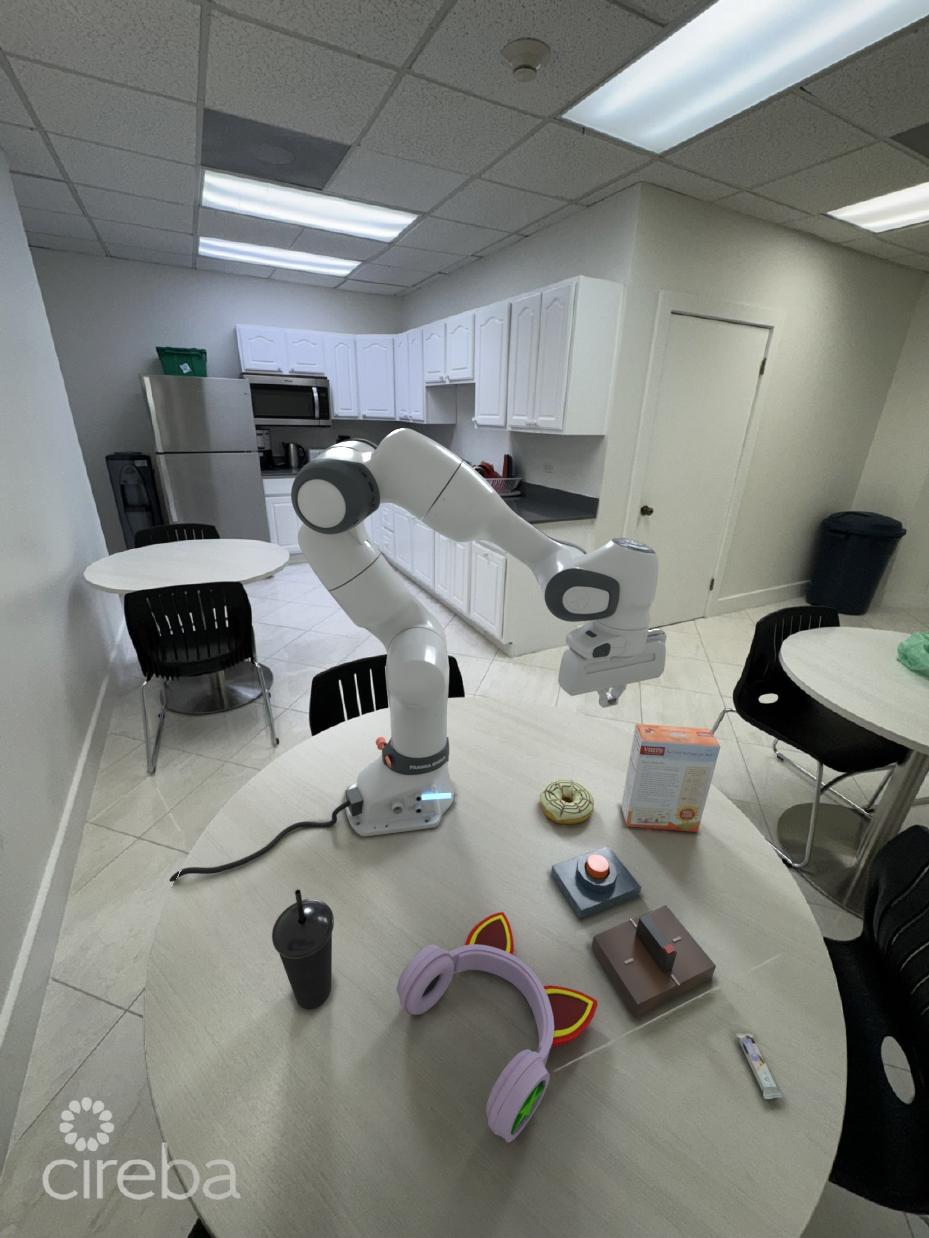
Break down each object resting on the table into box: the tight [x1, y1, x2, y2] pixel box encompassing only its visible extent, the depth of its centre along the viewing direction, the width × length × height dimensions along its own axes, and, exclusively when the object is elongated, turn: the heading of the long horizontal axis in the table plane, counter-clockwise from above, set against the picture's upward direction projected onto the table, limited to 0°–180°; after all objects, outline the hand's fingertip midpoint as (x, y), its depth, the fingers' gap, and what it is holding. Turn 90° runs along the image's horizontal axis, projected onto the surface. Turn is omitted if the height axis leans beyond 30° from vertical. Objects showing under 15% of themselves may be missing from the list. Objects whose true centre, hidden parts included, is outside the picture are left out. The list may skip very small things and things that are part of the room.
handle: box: [636, 913, 677, 972], centre depth 71 cm, size 6×2×4 cm, turn 22°
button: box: [586, 854, 609, 879], centre depth 83 cm, size 4×4×2 cm
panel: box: [590, 905, 717, 1018], centre depth 73 cm, size 14×10×3 cm
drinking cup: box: [271, 888, 335, 1011], centre depth 65 cm, size 8×8×20 cm
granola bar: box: [735, 1032, 783, 1100], centre depth 62 cm, size 7×2×1 cm, turn 1°
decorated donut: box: [539, 778, 595, 825], centre depth 101 cm, size 10×11×4 cm
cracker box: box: [620, 723, 721, 833], centre depth 95 cm, size 14×6×21 cm, turn 84°
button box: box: [550, 845, 642, 920], centre depth 84 cm, size 12×9×4 cm
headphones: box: [396, 911, 599, 1143], centre depth 65 cm, size 20×10×20 cm
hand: (607, 704), depth 88 cm, fingers closed
